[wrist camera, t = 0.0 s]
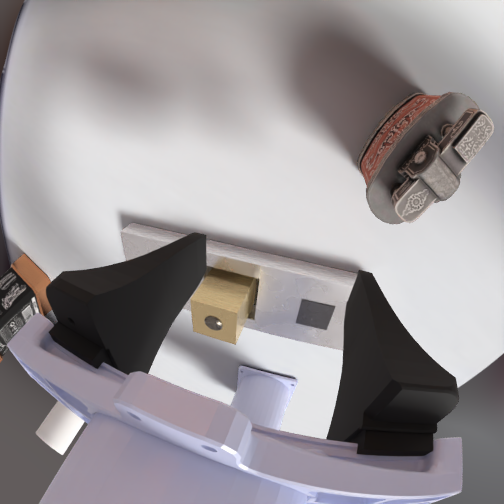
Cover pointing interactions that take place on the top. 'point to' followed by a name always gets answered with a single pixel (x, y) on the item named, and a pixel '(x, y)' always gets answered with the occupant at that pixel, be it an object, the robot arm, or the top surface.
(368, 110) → the top surface
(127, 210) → the top surface
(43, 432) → the cylindrical container
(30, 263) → the whiskey bottle
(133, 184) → the top surface
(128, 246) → the rail
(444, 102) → the lighter
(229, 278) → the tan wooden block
